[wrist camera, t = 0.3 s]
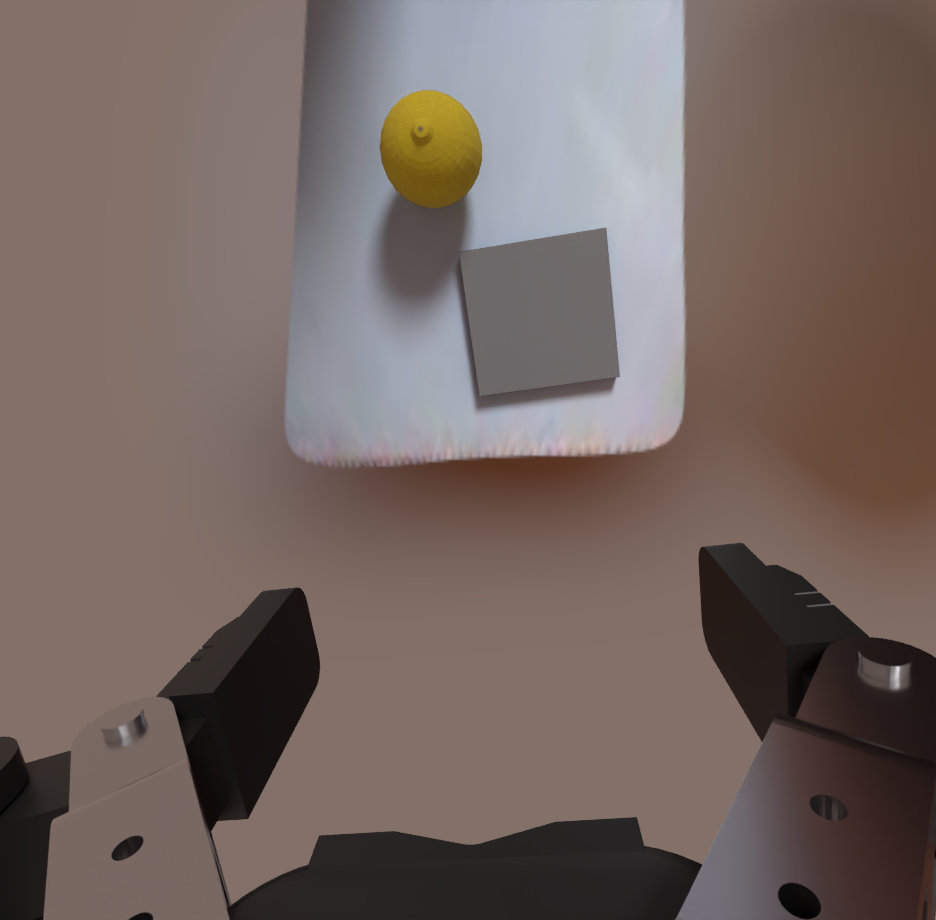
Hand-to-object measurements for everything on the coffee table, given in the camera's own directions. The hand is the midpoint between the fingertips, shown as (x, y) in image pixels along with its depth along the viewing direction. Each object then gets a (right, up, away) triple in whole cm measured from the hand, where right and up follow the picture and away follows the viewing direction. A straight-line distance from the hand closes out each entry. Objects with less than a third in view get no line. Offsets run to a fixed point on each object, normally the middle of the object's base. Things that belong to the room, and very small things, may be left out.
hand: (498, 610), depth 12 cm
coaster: (+4, +12, +26) cm, 29 cm away
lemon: (-2, +21, +25) cm, 32 cm away
